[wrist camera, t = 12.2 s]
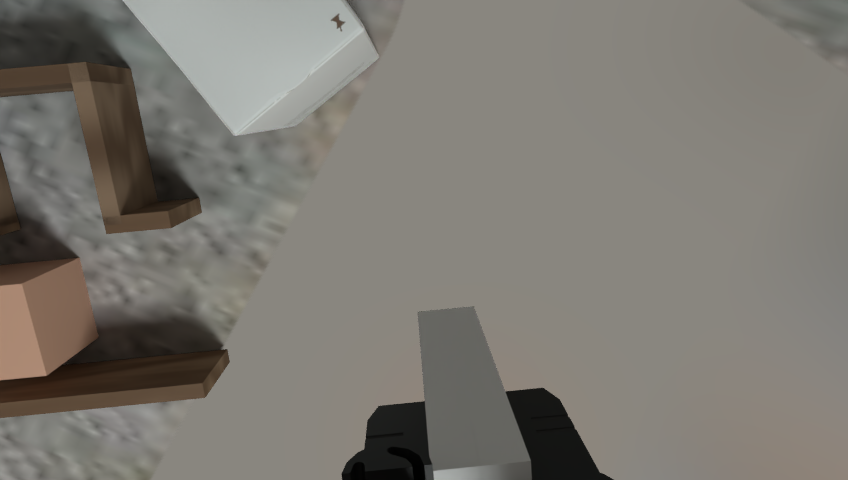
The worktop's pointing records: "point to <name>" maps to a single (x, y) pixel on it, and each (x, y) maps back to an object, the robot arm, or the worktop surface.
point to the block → (42, 316)
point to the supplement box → (261, 54)
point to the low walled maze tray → (125, 376)
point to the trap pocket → (94, 132)
